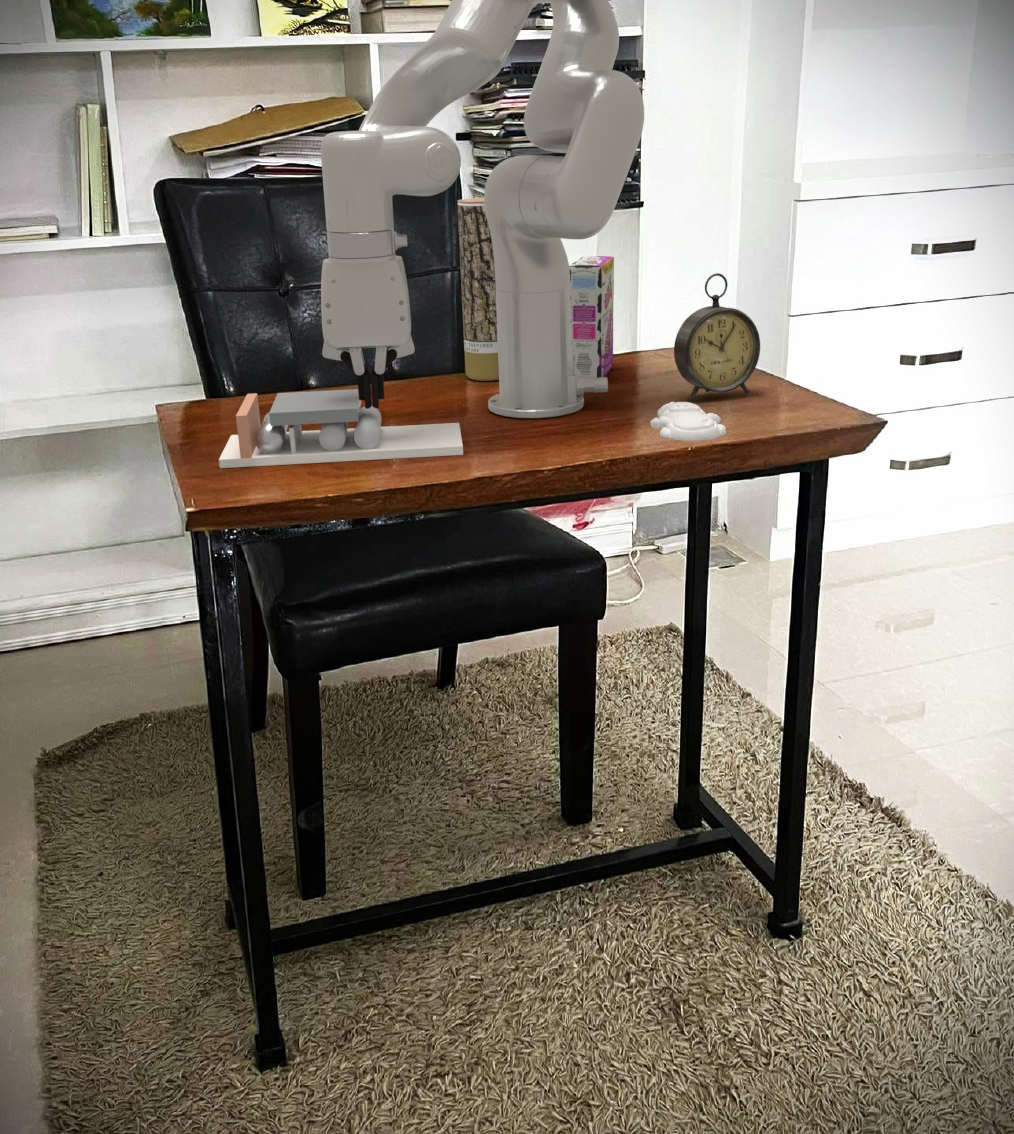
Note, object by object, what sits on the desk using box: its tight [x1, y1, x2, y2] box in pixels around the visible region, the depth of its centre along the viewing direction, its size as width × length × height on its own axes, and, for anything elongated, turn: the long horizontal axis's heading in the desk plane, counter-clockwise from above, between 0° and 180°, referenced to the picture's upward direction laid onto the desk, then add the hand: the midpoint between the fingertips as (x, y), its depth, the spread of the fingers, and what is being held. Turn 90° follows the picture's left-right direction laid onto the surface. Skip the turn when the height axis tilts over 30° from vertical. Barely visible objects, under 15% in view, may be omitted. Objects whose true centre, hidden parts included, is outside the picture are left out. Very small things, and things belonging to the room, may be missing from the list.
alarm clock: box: [673, 272, 761, 403], centre depth 165 cm, size 11×5×16 cm, turn 110°
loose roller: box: [256, 411, 289, 455], centre depth 148 cm, size 3×9×3 cm, turn 5°
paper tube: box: [456, 197, 499, 382], centre depth 179 cm, size 7×7×25 cm
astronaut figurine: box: [650, 401, 727, 442], centre depth 153 cm, size 9×12×3 cm
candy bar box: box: [569, 255, 615, 378], centre depth 180 cm, size 11×5×16 cm, turn 166°
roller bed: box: [218, 392, 464, 469], centre depth 149 cm, size 28×11×6 cm, turn 94°
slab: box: [268, 388, 362, 426], centre depth 148 cm, size 10×10×2 cm
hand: (372, 405), depth 148 cm, fingers closed
